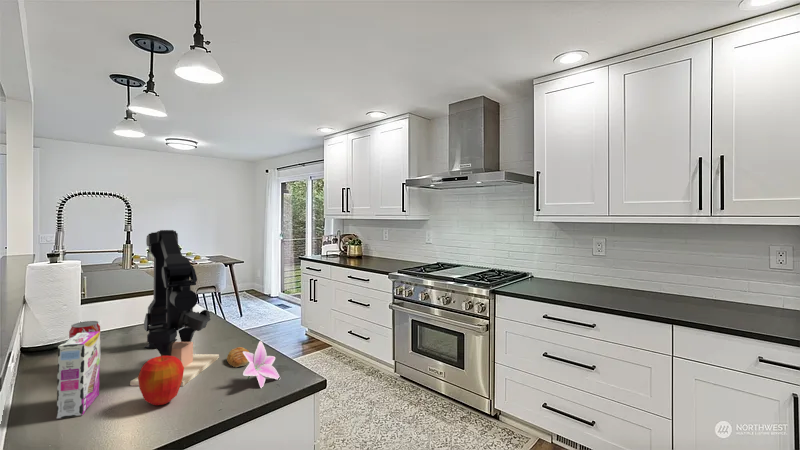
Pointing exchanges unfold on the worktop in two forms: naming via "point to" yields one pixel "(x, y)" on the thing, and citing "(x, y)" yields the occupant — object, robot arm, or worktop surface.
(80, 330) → the soda can
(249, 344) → the worktop surface
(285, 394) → the worktop surface
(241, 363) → the pastry
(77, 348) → the candy bar box
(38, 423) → the worktop surface
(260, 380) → the lily
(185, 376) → the birch board
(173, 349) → the terracotta cube
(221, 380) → the worktop surface
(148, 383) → the apple
